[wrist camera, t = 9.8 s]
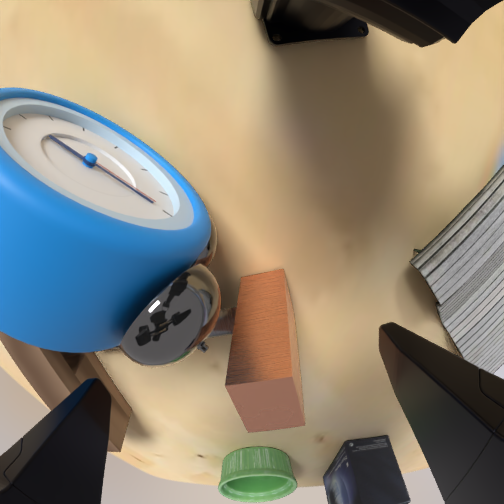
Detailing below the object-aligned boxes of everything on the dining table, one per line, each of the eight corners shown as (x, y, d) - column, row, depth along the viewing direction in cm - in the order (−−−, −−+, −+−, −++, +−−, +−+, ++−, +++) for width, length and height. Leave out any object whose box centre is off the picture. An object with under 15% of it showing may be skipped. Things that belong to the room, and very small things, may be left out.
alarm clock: (57, 83, 16) (236, 203, 21) (19, 161, 17) (184, 270, 23) (-93, 92, 4) (269, 338, 9) (-114, 237, 6) (170, 428, 11)
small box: (341, 439, 32) (362, 513, 22) (389, 433, 32) (414, 499, 22) (319, 477, 36) (332, 538, 26) (361, 471, 36) (377, 528, 27)
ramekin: (285, 474, 35) (289, 501, 31) (217, 474, 34) (217, 501, 30) (299, 442, 31) (305, 473, 27) (219, 441, 30) (219, 474, 26)
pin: (283, 268, 22) (292, 376, 13) (294, 314, 23) (305, 425, 14) (88, 306, 24) (29, 388, 15) (109, 342, 26) (62, 427, 17)
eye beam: (33, 227, 20) (-9, 256, 15) (131, 409, 28) (120, 451, 23) (2, 239, 20) (-37, 268, 15) (100, 410, 28) (87, 450, 23)
